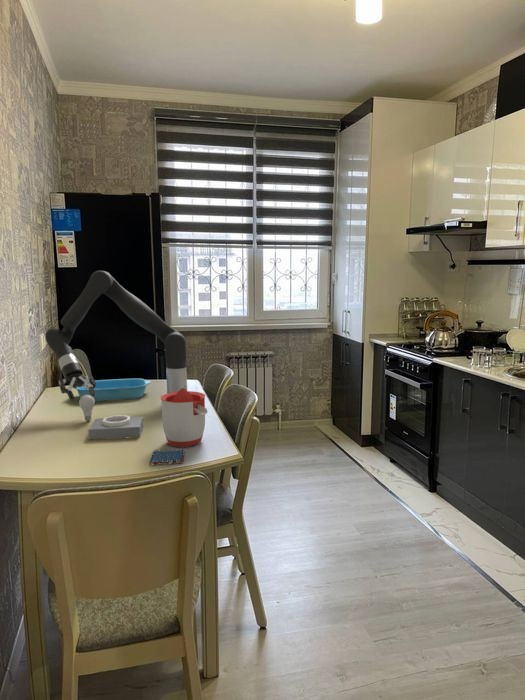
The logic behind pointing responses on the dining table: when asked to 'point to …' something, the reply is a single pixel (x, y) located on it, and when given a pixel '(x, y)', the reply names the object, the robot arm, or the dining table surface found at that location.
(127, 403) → the dining table surface
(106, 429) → the grey ring holder base
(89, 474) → the dining table surface
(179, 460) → the woven mat
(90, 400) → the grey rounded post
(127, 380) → the casserole dish
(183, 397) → the citrus juicer
